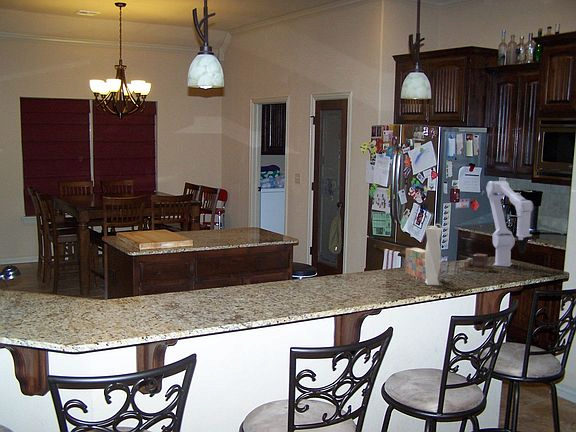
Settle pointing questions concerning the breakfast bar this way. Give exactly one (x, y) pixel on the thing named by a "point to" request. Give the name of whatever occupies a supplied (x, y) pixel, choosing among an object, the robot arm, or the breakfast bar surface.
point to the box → (480, 261)
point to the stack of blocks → (417, 263)
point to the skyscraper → (433, 255)
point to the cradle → (469, 267)
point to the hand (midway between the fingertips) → (522, 252)
